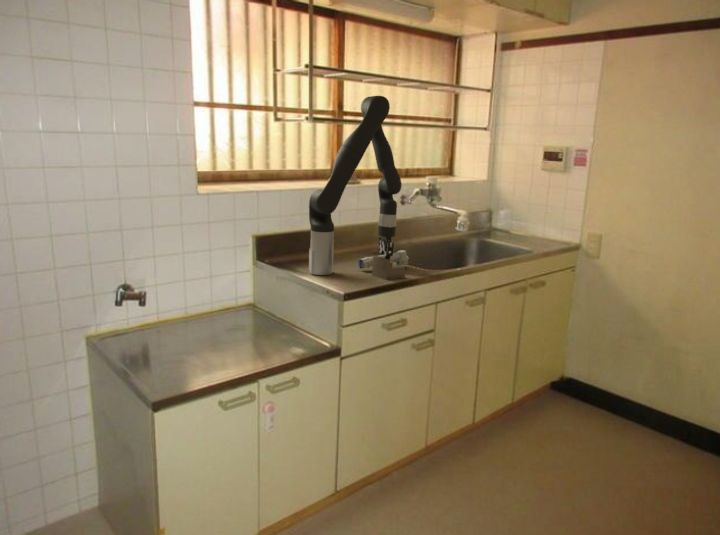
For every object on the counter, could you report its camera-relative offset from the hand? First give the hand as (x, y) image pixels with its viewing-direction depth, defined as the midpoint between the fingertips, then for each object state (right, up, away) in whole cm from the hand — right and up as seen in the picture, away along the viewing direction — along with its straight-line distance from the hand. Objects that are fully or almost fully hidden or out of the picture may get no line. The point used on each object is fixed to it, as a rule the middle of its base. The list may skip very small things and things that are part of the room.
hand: (384, 263), depth 228 cm
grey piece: (0, -1, 0) cm, 1 cm away
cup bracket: (+1, -5, -13) cm, 14 cm away
